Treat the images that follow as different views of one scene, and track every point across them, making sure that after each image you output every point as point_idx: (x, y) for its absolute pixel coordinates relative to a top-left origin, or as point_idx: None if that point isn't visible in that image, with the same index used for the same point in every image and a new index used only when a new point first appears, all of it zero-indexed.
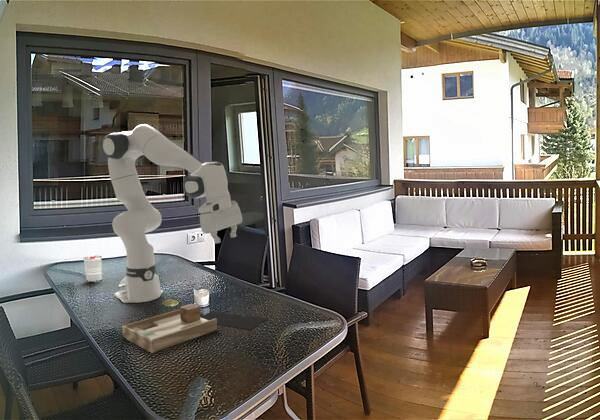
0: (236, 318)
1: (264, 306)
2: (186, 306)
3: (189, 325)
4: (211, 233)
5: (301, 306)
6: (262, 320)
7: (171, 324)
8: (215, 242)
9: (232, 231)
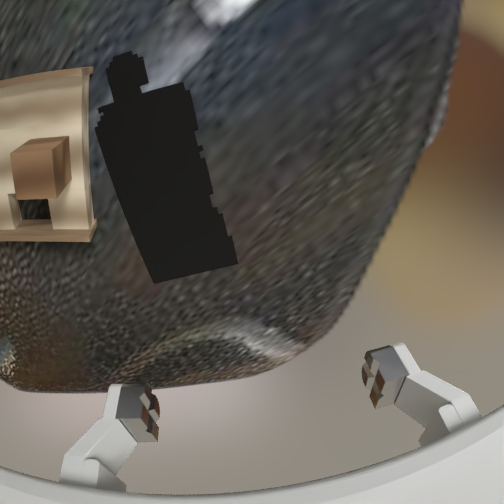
0: (185, 201)
1: (315, 190)
2: (25, 165)
3: None
4: (69, 475)
5: (351, 263)
6: (218, 263)
7: (1, 151)
8: (114, 394)
9: (410, 393)
